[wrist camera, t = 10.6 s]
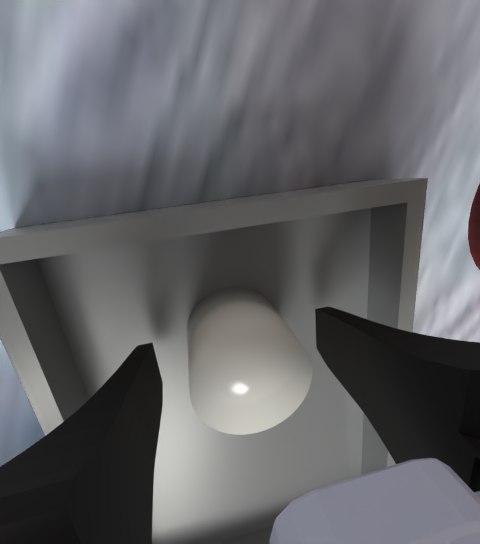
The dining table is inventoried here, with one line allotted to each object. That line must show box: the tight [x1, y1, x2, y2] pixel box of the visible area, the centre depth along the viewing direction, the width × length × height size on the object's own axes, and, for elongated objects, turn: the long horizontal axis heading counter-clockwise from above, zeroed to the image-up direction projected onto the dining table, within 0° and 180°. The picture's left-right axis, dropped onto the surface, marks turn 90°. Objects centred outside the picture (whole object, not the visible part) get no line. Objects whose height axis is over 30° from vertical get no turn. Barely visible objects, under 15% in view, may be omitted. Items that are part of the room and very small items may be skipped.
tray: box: [0, 178, 428, 544], centre depth 14 cm, size 22×16×3 cm
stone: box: [187, 286, 312, 435], centre depth 12 cm, size 4×4×4 cm
